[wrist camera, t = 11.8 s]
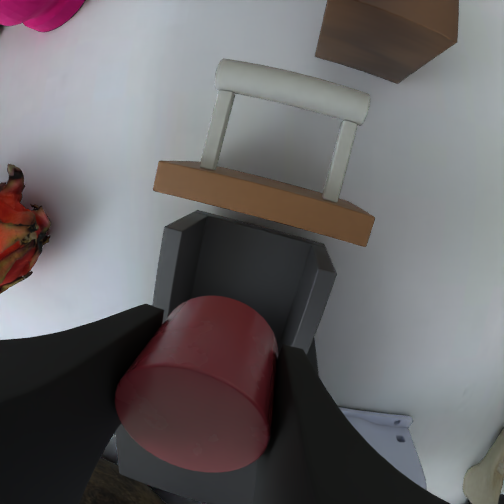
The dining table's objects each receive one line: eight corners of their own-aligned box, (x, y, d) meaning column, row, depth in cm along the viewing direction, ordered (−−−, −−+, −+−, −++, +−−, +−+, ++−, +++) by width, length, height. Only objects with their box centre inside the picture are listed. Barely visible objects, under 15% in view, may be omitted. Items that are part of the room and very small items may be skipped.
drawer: (217, 79, 15) (188, 46, 10) (371, 118, 15) (405, 99, 10) (165, 329, 19) (131, 377, 14) (293, 365, 19) (292, 424, 14)
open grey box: (166, 289, 20) (113, 346, 13) (313, 330, 19) (322, 406, 12) (152, 412, 23) (119, 473, 16) (265, 444, 23) (256, 514, 16)
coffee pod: (292, 313, 9) (292, 394, 6) (260, 403, 10) (247, 486, 7) (171, 279, 9) (112, 339, 6) (158, 373, 10) (115, 443, 7)
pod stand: (408, 18, 13) (458, -39, 6) (397, 84, 15) (457, 42, 8) (330, -8, 14) (346, -83, 6) (314, 57, 15) (329, -8, 8)
